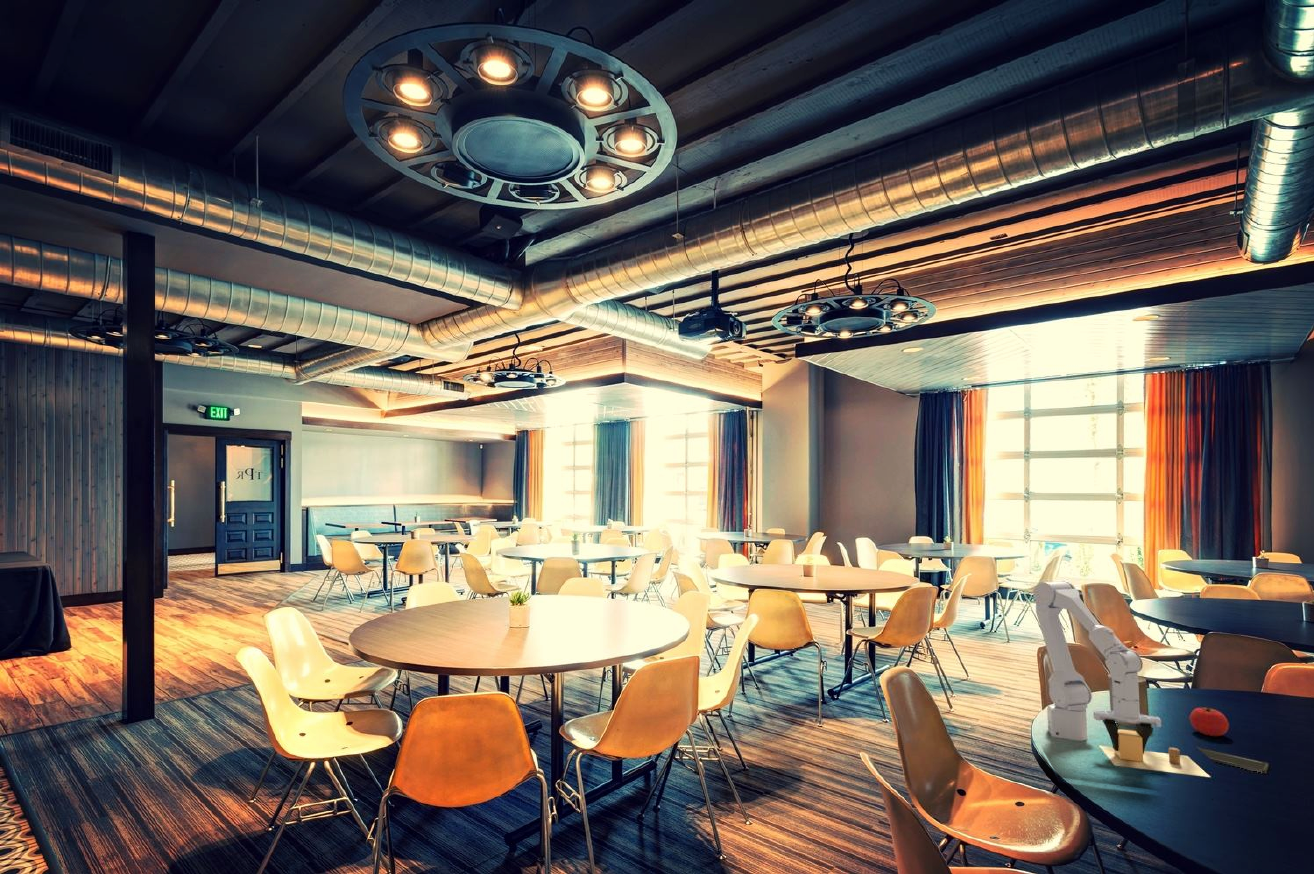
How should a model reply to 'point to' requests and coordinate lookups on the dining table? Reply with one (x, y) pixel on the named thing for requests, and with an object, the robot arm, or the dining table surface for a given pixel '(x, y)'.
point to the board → (1159, 762)
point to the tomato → (1209, 721)
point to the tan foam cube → (1129, 745)
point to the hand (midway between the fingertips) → (1128, 750)
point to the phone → (1235, 760)
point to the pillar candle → (1142, 699)
